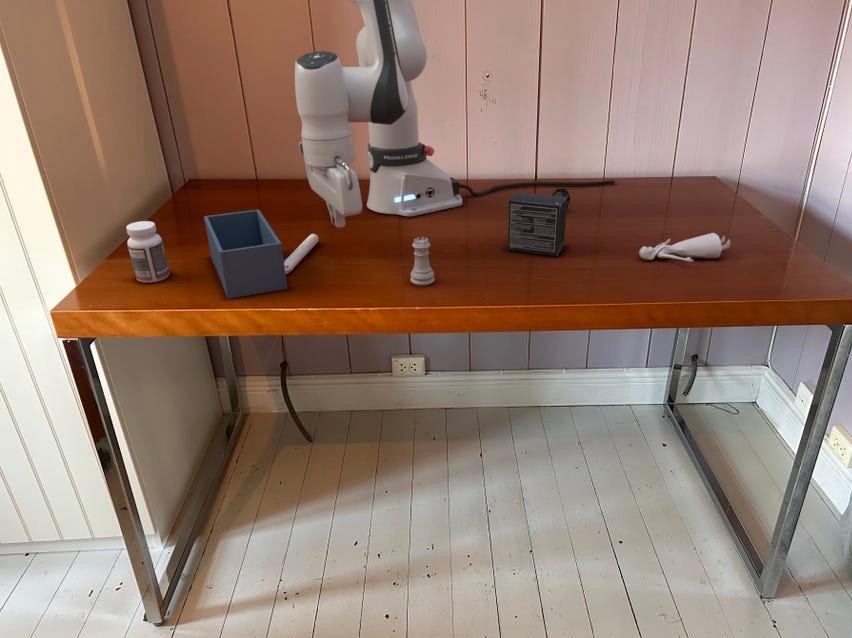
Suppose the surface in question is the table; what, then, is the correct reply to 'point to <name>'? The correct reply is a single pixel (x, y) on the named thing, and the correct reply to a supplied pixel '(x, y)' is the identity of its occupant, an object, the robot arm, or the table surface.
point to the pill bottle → (147, 252)
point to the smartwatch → (562, 194)
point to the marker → (300, 252)
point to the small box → (537, 223)
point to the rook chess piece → (421, 263)
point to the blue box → (245, 253)
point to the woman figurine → (688, 248)
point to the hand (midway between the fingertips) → (338, 225)
